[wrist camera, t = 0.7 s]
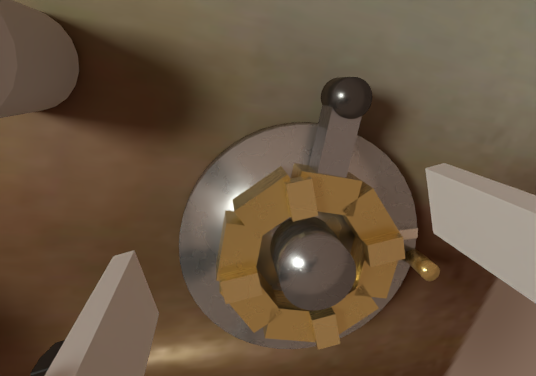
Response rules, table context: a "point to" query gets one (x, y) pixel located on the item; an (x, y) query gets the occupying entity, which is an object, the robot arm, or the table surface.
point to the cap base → (291, 230)
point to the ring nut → (306, 206)
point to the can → (33, 60)
